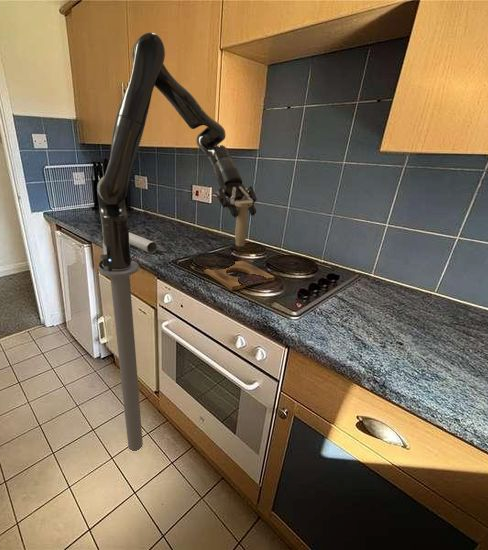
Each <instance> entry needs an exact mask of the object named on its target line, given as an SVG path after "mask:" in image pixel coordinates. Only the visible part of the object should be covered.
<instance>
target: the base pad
mask: <svg viewBox="0 0 488 550" xmlns="http://www.w3.org/2000/svg"><path fill="white" fill-rule="evenodd" d="M234 262H235V264H234V265H232V266H230V267H229V268H226V269H223V270H210V269H206V270H204V269H203V273H205V274H206V275H208V276H209V277H211V278H212V279H214V280H215V281H216V282H218V283H220V284H221V285H223V286H224V287H225V288H227V289H229V290H230V291H231V292H233V291H237V290H242V289H245V288H247V287H246V286H245V285H243V286H240V285H241V284H239V282H238V278H240V276H233V275H231V274H228V273H231V272H242V273H245V274H247V275H248V276H249V275H251V274H256V275H261V276H264V277H266V278H267V279H268V278H272V279H268V280H264V281H261V282H264V283H263V284H266V283H269V282H274V281H275V275H272V274H270V273H268V272H266V271H264V270H263V269H260V268H259V267H257V266H255V265H253V264H250V262H247V261H246V260H238V261H234ZM228 269H230V270H228Z"/></svg>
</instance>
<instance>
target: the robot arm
mask: <svg viewBox="0 0 488 550" xmlns="http://www.w3.org/2000/svg"><path fill="white" fill-rule="evenodd" d="M131 49H132V50H131V61H132V68H131V74H130V78H129V81H128V84H127V87H126V89H125V91H124V94H123V96H122V98H121V101H120V103H119V106H118V110H117V111H116V116H115V120H114V122H113V123H114V124H113V128H112V134H111V143H110V144H111V145H110V154H109V155H110V156H109V160H108V163H107V167H106V170H105V173H104V176H102V177H101V178H100V179H99V180H98V182H97V185H96V191H97V201H98V207H99V215H100V223H101V228H102V229H101V231H102V239H103V241H102V252H103V254H100V255H99V258H100V261H99V263H98V267H100V268H101V269H104V267H106V268H107V269H108V271H123V270H127V269H129V268H130V267H131V261H133V258H132V257H131V245H130V243H129V233H130V231H129V230H130V229H129V217H128V212H127V208H126V207H127V206H126V197H127V195H128V188H129V183H130V177H131V172H132V167H133V164H134V161H135V160H136V159H135V158H136V155H137V153H138V150H139V147H140V145H141V140H142V137H143V135H144V131H145V127H146V123H147V119H148V115H149V111H150V105H151V100H152V96H153V92H154V88H156V89H157V91H159V92H160V93H161V94H162V95H163V97H164V98H165V99H166V100H167V101H168V102H169V103H170V105H171V106H172V107H173V109H174V110H175V111H176V112H177V113H178V115H179V117H181V118H182V120H183V121H184V122H185V124H186V125H187V127H189V128H190V129H191V130H195V129H197V128H199V127H201V126H205V128H204V129H203V130H202V131H201V132H200V133H198V135H197V136H196V139H195V141H196V145H197V147H198V148H199V149H200V150H201V151H202V152H203V153H204V154H205V156H206V158H208V160H209V161H210V164H211V167H212V169H213V172H214V175H215V177H216V180H217V182H218V184H219V188H218V190H217V191H216V193H215V196H216V198H217V199H218V201H219V203H220V206H221V207H222V208H227V209H228V210H229V212H230V214H231V216H232V217H233V218H234V219H235V218H236V219H237V216H238V215H239V213H238V208H237V207H236V206H235V205H234V202H235V201H239V200H249V201H253V203H252V206H251V207H249V208H248V212H249V214H250V216H252V217H253V216H255V215H256V214H257V209H256V206H255V203H256V202H257V200H258V199H257V196H256V193H255V190H254V187H252V185H249V186H248V187H245V186H244V184H243V179H242V176H241V174H240V172H239V170H238V168H237V166H236V163H235V162H234V160H233V159H232V157H231V154H230V152H229V149H228V148H227V147H226V146H225V145H223V144H221V143H222V142H223V141H224V140H225V139H226V130H225V128H224V127H223V125H221V124H220V123H219V122H218V121H216V120H215V119H214V118H212V116H210V115H208V113H206V111H204V109H203V107H201V105H200V104H199V102H198V100H197V99H195V97H194V95H192V94H191V92H190V91H188V90H187V88H185V87H184V86H183V85H182V84H180V82H179V81H177V80H176V79H175V78H174V76H173V75H172V74H171V73H170V71H169V70H168V68H167V67H166V66H165V64H164V62H165V58H166V50H165V49H166V48H165V45H164V42H163V40H162V39H161V37H160V36H159V35H158V34H156V33H155V32H145V33H142V34H141V35H140V36H139V37H138V38H137V39H136V41H135V42H134V44H133V46H132V48H131ZM220 144H221V145H220ZM102 265H103V266H104V267H103V266H102Z"/></svg>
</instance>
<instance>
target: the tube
mask: <svg viewBox="0 0 488 550" xmlns="http://www.w3.org/2000/svg"><path fill="white" fill-rule="evenodd" d="M129 243H130V246H133V247H135V248H137V249H139V250H142V251H144V252H146V253H148V254H149V255H152V254H155V252H156V251H157V250H158V244H157V243H156V242H155V241H152V240H150V239H147V238H145V237H142V236H139V235H137V234H135V233H132V232H129Z"/></svg>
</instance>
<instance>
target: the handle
mask: <svg viewBox="0 0 488 550" xmlns="http://www.w3.org/2000/svg"><path fill="white" fill-rule="evenodd" d="M252 203H253V201H249V200H247V199H246V200H235V201H234V204H233V205H235V206H236V208H237V211H238V213H239V215H238V216H237V217H236V221H235V228H234V229H235V230H234V241H235V242H234V243H235V246H236V247H245V245H246V239H247V234H248V212H249V210H248V208H249V207H251V206H252Z"/></svg>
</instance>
